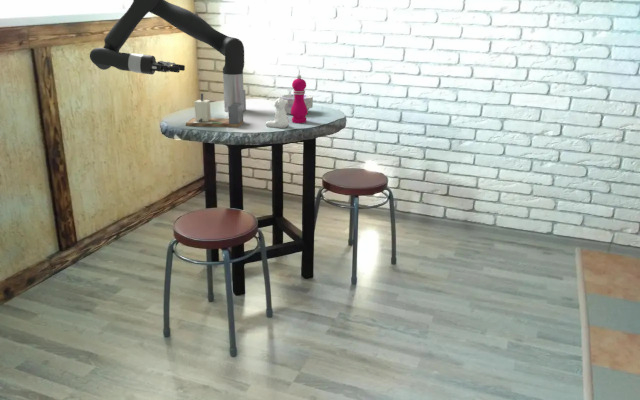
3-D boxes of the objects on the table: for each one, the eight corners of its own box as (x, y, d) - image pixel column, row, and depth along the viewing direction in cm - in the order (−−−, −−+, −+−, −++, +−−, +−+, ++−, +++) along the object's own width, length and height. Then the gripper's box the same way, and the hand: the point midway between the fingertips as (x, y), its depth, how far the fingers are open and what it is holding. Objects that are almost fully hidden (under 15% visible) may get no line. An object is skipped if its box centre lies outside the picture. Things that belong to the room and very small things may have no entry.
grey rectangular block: (228, 123, 223) (228, 106, 221) (234, 118, 233) (233, 102, 230) (238, 124, 223) (237, 107, 221) (243, 119, 233) (242, 102, 230)
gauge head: (193, 122, 223) (192, 95, 220) (199, 118, 231) (197, 92, 228) (205, 122, 223) (204, 96, 219) (210, 118, 231) (209, 92, 227)
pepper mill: (289, 123, 232) (289, 75, 225) (292, 119, 239) (292, 73, 232) (306, 123, 231) (306, 76, 224) (308, 120, 238) (309, 74, 231)
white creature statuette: (282, 123, 232) (282, 95, 228) (295, 126, 226) (295, 97, 222) (264, 126, 226) (264, 97, 222) (277, 130, 220) (277, 100, 216)
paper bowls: (308, 109, 263) (308, 93, 260) (315, 115, 249) (316, 98, 246) (277, 110, 259) (277, 93, 256) (283, 116, 245) (283, 99, 243)
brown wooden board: (185, 125, 224) (185, 122, 224) (193, 120, 235) (193, 117, 234) (238, 127, 223) (238, 123, 223) (243, 121, 233) (243, 118, 233)
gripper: (136, 55, 213) (178, 60, 213) (147, 53, 226) (186, 58, 227) (136, 75, 215) (177, 80, 216) (147, 71, 228) (185, 76, 229)
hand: (182, 68), depth 221 cm, fingers open, 8 cm apart
